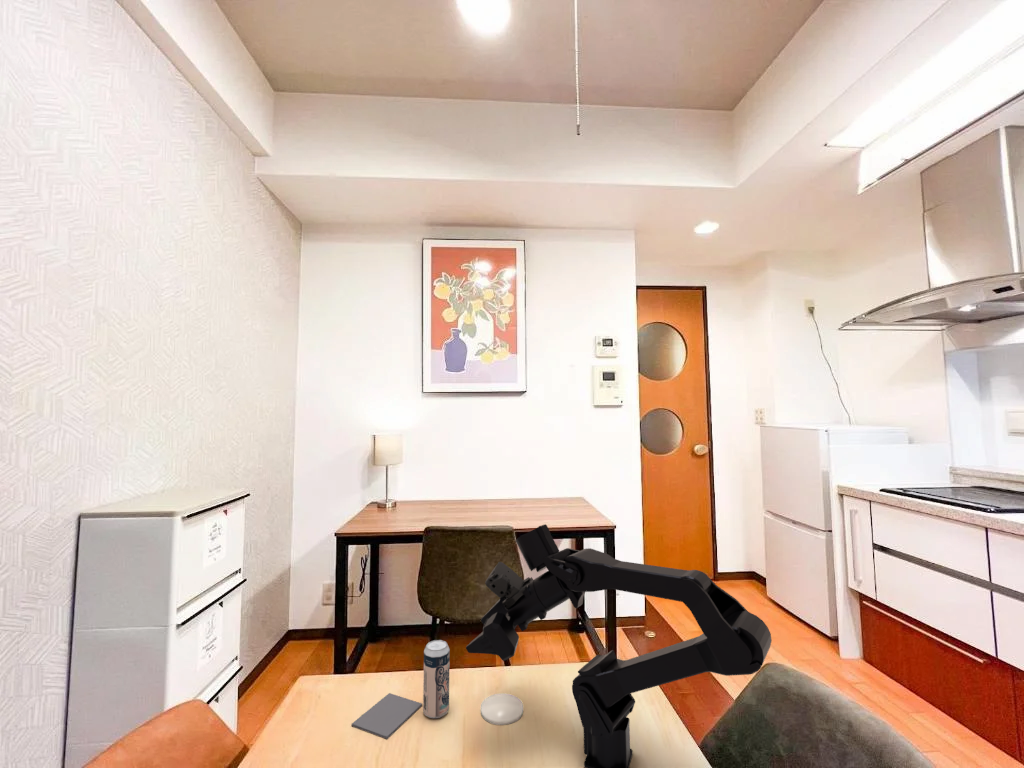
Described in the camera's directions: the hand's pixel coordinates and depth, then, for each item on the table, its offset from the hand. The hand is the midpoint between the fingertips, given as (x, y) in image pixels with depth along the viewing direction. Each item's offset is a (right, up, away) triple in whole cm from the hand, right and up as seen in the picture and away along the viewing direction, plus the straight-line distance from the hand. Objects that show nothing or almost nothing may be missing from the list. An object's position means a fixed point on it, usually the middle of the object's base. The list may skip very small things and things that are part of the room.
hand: (475, 634), depth 83 cm
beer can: (-7, -15, 0) cm, 17 cm away
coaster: (+5, -15, +1) cm, 15 cm away
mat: (-16, -15, -1) cm, 22 cm away
